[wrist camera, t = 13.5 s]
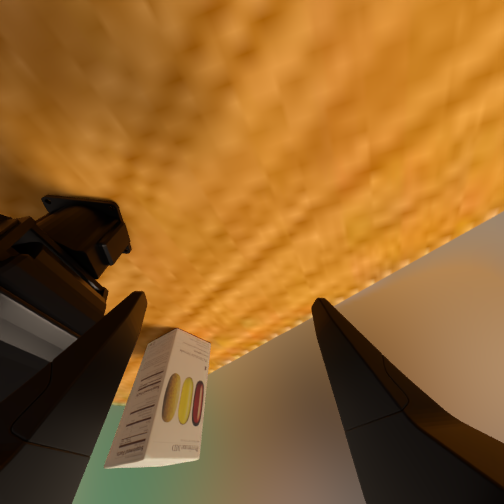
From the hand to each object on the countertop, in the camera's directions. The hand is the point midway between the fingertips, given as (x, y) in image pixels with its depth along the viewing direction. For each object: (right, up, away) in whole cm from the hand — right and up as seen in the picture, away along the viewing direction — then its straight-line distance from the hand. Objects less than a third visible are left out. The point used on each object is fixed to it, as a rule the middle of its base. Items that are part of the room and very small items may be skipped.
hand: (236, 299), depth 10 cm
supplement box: (-14, -17, +29) cm, 36 cm away
